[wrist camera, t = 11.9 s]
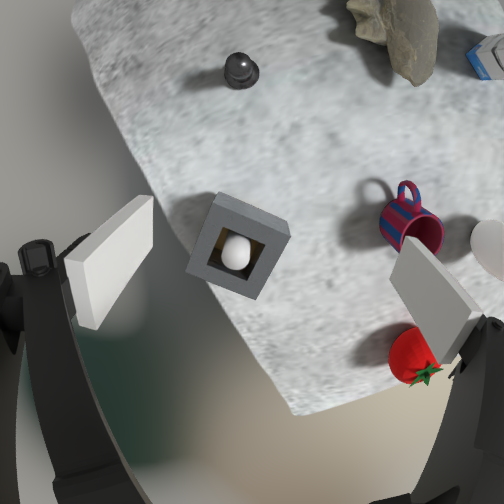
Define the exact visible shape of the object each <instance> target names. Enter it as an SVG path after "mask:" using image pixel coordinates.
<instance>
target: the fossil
mask: <svg viewBox="0 0 504 504" xmlns="http://www.w3.org/2000/svg"><path fill="white" fill-rule="evenodd" d="M347 9H348V10H349V11H351V13H352V14H353V16H354V18H355V20H356V22H357V23H356V24H357V26H356V29H355V30H356V36H357V37H359V38H361V39H365V40H368V41H371V42H374V43H376V44H379V45H382V46H387V49H388V53H389V57H390V61H391V66H392V69H393V70H394V71H395V72H396V73H398V74H399V75H401V76H402V77H403V78H405V79H407V80H409V81H410V82H411V84H412V85H413V86H414V87H417V86H420V85H422V84H423V83H424V82H425V81H426V80H427V79H428V78H429V77H430V76H431V75H432V73H433V67H434V64H435V60H436V51H437V38H438V32H439V25H438V17H437V15H436V10H435V8H434V6H433V5H432V3H431V1H430V0H348V2H347Z"/></svg>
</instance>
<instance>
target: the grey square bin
mask: <svg viewBox="0 0 504 504" xmlns="http://www.w3.org/2000/svg"><path fill="white" fill-rule="evenodd" d="M222 227H225V228H228V229H230V230H232V231H235V232H237V233H239V234H242V235H244V236H246V237H249V238H251V239H253V240H256V241H258V244H257V246H256V248H255V250H254V252H253V254H252V256H251V258H250V260H249V262H248V264H247V265H246V266H245V267H244V268H242V269H239V270H233V269H230V268H228V267H226V266H225V265H224V263H223V262H222V257H221V256H222V250H220V249H218V248H215V247H214V246H215V244H216V241H217V239H218V237H219V234H220V232H221V230H222ZM290 237H291V235H290V231H289V227H288V223H287V221H285V220H283V219H281V218H279V217H277V216H274V215H272V214H270V213H268V212H266V211H263V210H261V209H259V208H256V207H254V206H252V205H250V204H247V203H245V202H243V201H240V200H238V199H236V198H234V197H231V196H229V195H227V194H224V193H222V192H218V194H217V195H216V197H215V199H214V201H213V202H212V205H211V207H210V210H209V212H208V214H207V217H206V219H205V222H204V224H203V227H202V229H201V232H200V234H199V237H198V239H197V242H196V244H195V247H194V249H193V252H192V254H191V257H190V259H189V262H188V265H187V267H186V270H185V272H187V273H189V274H191V275H194V276H196V277H199V278H201V279H203V280H206V281H208V282H211V283H213V284H216V285H218V286H221V287H223V288H226V289H228V290H231V291H233V292H236V293H238V294H241V295H243V296H246V297H248V298H251V299H254V300H256V299H257V297H258V295H259V293H260V292H261V290H262V288H263V286H264V285H265V283H266V281H267V279H268V277H269V276H270V274H271V272H272V270H273V268H274V267H275V265H276V263H277V261H278V259H279V257H280V256H281V254H282V252H283V250H284V248H285V246H286V245H287V243H288V241H289V239H290Z"/></svg>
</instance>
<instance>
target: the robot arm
mask: <svg viewBox="0 0 504 504" xmlns="http://www.w3.org/2000/svg"><path fill="white" fill-rule="evenodd" d="M152 247H153V196H145V195H138V196H137V197H136V198H134V199H133V200H132V201H130V202H129V203H128V204H127V205H125V206H124V207H123V208H122V209H120V210H119V211H118V212H117V213H115V214H114V215H113V216H112V217H111V218H110V219H108V220H107V221H106V222H105V223H104V224H102V225H101V226H100V227H99V228H98V229H96V230H95V231H94V232H93V233H88V234H86V235H83V236H81V237H79V238H78V239H77V240H76V241H74V242H73V243H72V245H70V246H69V247H68V248H67V249H66V250H64V251H63V252H62V253H61V254H60V255H59V256H57V257H56V256H55V251H54V245H53V243H52V242H51V241H49V240H44V239H40V240H34V241H31V242H28V243H26V244H24V245H23V246H22V247H21V248H20V249H19V251H18V256H19V260H20V264H21V268H22V272H23V275H11V274H10V271H9V267H8V265H7V264H5V263H3V262H0V504H20V499H19V491H18V482H17V469H16V444H15V443H16V438H15V437H16V409H17V395H18V385H19V376H20V369H21V362H22V355H23V350H24V344H25V342H26V351H27V359H28V367H29V374H30V379H31V385H32V391H33V396H34V401H35V406H36V410H37V414H38V418H39V422H40V426H41V430H42V434H43V437H44V441H45V444H46V447H47V450H48V453H49V456H50V459H51V462H52V465H53V468H54V471H55V479H54V481H53V482H52V483H53V490H54V494H55V497H56V499H57V502H58V504H152V502H151V501H150V499H149V498H148V496H147V495H146V493H145V492H144V491H143V489H142V487H141V486H140V484H139V482H138V481H137V479H136V477H135V476H134V474H133V472H132V470H131V469H130V467H129V465H128V463H127V461H126V460H125V458H124V456H123V454H122V452H121V450H120V448H119V446H118V444H117V442H116V440H115V438H114V436H113V434H112V432H111V430H110V428H109V426H108V424H107V421H106V419H105V417H104V414H103V412H102V410H101V408H100V405H99V403H98V400H97V398H96V395H95V393H94V390H93V388H92V385H91V382H90V380H89V377H88V374H87V371H86V368H85V366H84V363H83V359H82V356H81V353H80V350H79V347H78V344H77V340H76V337H75V333H74V330H73V326H72V323H71V319H72V318H73V316H74V315H75V314H76V315H77V319H78V322H79V325H80V326H83V327H87V328H90V329H94V330H97V329H98V328H99V326H100V324H101V323H102V321H103V319H104V318H105V316H106V315H107V313H108V312H109V310H110V309H111V307H112V305H113V304H114V302H115V301H116V299H117V298H118V296H119V295H120V293H121V292H122V290H123V289H124V287H125V286H126V284H127V282H128V281H129V279H130V278H131V277H132V275H133V274H134V272H135V271H136V269H137V268H138V267H139V265H140V264H141V262H142V261H143V260H144V258H145V257H146V255H147V254H148V253H149V251H150V250H151V248H152ZM389 280H390V281H391V283H392V284H393V286H394V288H395V289H396V291H397V292H398V294H399V296H400V297H401V299H402V301H403V302H404V304H405V305H406V307H407V309H408V310H409V312H410V314H411V316H412V317H413V319H414V321H415V322H416V324H417V326H418V328H419V329H420V331H421V333H422V335H423V337H424V338H425V340H426V342H427V344H428V346H429V347H430V349H431V351H432V353H433V355H434V357H435V359H436V361H437V363H438V365H440V364H451V363H452V361H453V360H454V358H455V357H456V356H457V354H458V353H459V354H460V356H461V358H462V359H461V360H460V361H459V363H458V364H457V366H456V367H455V368H454V370H453V371H452V372H451V374H450V375H449V377H448V378H449V379H450V378H451V376H454V375H455V376H454V379H453V385H452V389H451V392H450V396H449V400H448V403H447V407H446V410H445V414H444V417H443V420H442V423H441V426H440V429H439V432H438V435H437V438H436V440H435V443H434V446H433V448H432V451H431V453H430V456H429V458H428V461H427V463H426V465H425V468H424V470H423V472H422V475H421V477H420V479H419V481H418V484H417V485H416V487H415V489H414V490H413V492H412V493H411V494H410V493H407V494H404V495H400V496H396V497H391V498H387V499H383V500H378V501H373V502H371V503H369V504H504V323H503V322H502V321H501V320H499V319H497V318H495V317H488V318H486V317H485V315H484V314H483V310H482V309H481V308H480V307H479V305H478V304H477V303H476V302H475V301H474V299H473V298H472V297H471V296H470V295H469V294H468V292H467V291H466V290H465V289H464V288H463V287H462V285H461V284H460V283H459V282H458V281H457V280H456V279H455V277H454V276H453V275H452V274H451V273H450V272H449V271H448V270H447V269H446V268H445V267H444V265H443V264H442V263H441V262H440V261H439V260H438V259H437V258H436V257H435V256H434V255H433V254H432V253H431V252H430V251H429V250H428V249H427V248H426V247H425V246H424V245H423V244H422V243H421V242H420V241H419V240H418V239H417V238H415V237H410V236H405V239H404V242H403V245H402V248H401V250H400V253H399V256H398V258H397V261H396V264H395V266H394V269H393V271H392V274H391V276H390V279H389Z"/></svg>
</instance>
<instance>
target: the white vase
mask: <svg viewBox="0 0 504 504" xmlns="http://www.w3.org/2000/svg"><path fill="white" fill-rule="evenodd" d="M470 245H471V249H472V252H473V254H474V256H475V258H476V260H477V261H478V263H479V264H480V265H481V266H482V267H483V268H484V269H485V270H486V271H487V272H488V273H489V274H491V275H492V276H494V277H496V278H497V279H499V280H501V281H504V223H503V222H501V221H497V220H484V221H481V222H479V223H478V224H477V225H476V226H475V228H474V229H473V231H472V234H471V239H470Z"/></svg>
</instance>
